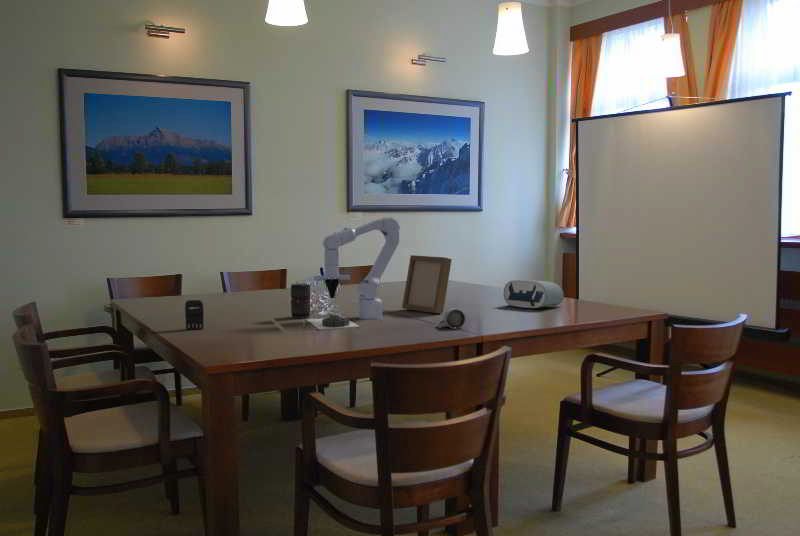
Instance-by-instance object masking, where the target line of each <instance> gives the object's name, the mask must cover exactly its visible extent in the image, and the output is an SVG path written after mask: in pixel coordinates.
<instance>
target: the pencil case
mask: <svg viewBox="0 0 800 536" xmlns="http://www.w3.org/2000/svg"><path fill="white" fill-rule="evenodd" d="M564 297H565V295H564V291H563V288H562V287H561V286H560V285H559V284H557V283H555V282H552V281H548V280H534V279H522V280H521V279H520V280H519V279H518V280H517V279H516V280H510V281H508V282H507V283H506V284H505V285H504V289H503V299H504V301H505V302H506V304H508V305H509V306H511V307H516V308H521V309H525V308H526V309H541V307H546V308H549V307H548V306H552V307H555V306H558V305H560V304H561V303H562V302H563V301H564Z"/></svg>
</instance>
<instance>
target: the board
mask: <svg viewBox="0 0 800 536" xmlns="http://www.w3.org/2000/svg"><path fill="white" fill-rule="evenodd" d="M305 319H306V321H307V322H309V323H310V324H311V325H313V326H314V327H316V329H317V330H316V331H318V332H328V331H327V330H332V331H345V330H346V329H349V330H360V329H361V327H360V326H359V324H357V323H354V322H353V321H351V320H350V319H349V318H347V317H344V316H342V321H329V317H326V318H305Z"/></svg>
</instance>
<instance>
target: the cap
mask: <svg viewBox="0 0 800 536" xmlns="http://www.w3.org/2000/svg"><path fill="white" fill-rule="evenodd" d="M342 317H343V314H341V313H330V314H329V315H328V318H329V321H342Z"/></svg>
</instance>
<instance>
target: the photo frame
mask: <svg viewBox="0 0 800 536" xmlns="http://www.w3.org/2000/svg"><path fill="white" fill-rule="evenodd" d="M452 261H453V259H452V258H448V257H444V256H431V255H429V256H427V255H413V254H411V255H410V257H409V265H408V269H407V276H406V280H405V281H406V282H405V288H404V293H403V300H402V306H401V308H402V309H404V310H409V309H411V311H416V310H417V312H423V311H424V313H430V312H431V313H430V314H437V313H438V314H437V315H440V314H439V313H443V314H444V308H445V304H446V298H447V297H446V296H447V292H448V291H447V289H448V285H449V278H450V271H451V266H452Z"/></svg>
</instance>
